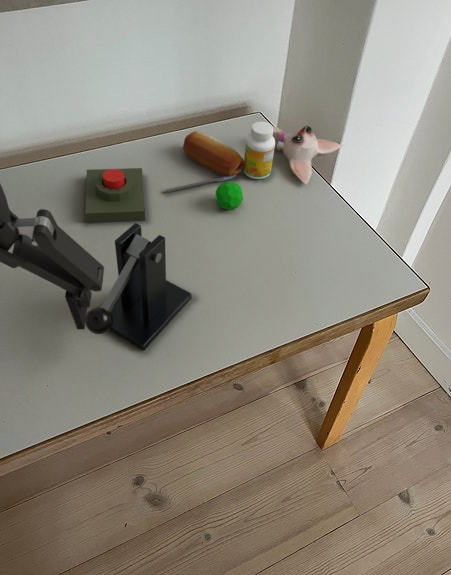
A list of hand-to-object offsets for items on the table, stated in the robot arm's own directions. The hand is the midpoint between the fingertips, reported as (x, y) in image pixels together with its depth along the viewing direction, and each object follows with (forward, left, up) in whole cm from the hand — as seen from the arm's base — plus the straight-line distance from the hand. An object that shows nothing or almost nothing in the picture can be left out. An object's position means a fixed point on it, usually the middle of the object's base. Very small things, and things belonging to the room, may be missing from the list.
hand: (18, 318), depth 61 cm
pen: (-44, +25, -18) cm, 54 cm away
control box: (-41, +9, -18) cm, 46 cm away
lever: (-12, +11, -10) cm, 19 cm away
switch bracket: (-15, +13, -18) cm, 27 cm away
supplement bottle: (-47, +36, -18) cm, 62 cm away
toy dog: (-57, +38, -14) cm, 70 cm away
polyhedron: (-38, +29, -18) cm, 51 cm away
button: (-41, +9, -15) cm, 44 cm away
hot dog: (-48, +26, -16) cm, 57 cm away
